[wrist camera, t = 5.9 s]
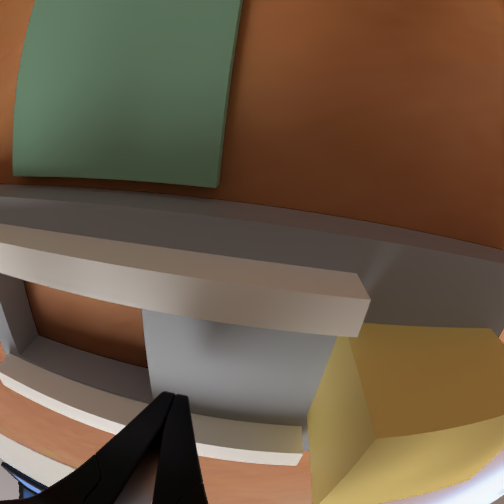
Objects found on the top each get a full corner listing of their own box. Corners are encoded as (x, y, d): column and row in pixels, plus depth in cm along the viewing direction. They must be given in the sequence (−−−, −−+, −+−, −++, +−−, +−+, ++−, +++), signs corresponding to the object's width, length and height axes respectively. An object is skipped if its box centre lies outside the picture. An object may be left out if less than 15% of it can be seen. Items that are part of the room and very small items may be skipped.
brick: (306, 415, 11) (312, 509, 7) (342, 320, 9) (376, 438, 5) (440, 409, 11) (468, 480, 7) (490, 328, 9) (544, 400, 5)
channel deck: (32, 359, 14) (5, 394, 11) (-8, 184, 10) (-59, 204, 7) (416, 417, 14) (432, 461, 11) (503, 250, 10) (551, 286, 7)
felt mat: (21, 173, 10) (12, 176, 9) (48, -14, 6) (41, -17, 6) (219, 184, 10) (216, 188, 9) (252, -48, 6) (251, -56, 6)
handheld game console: (52, 488, 31) (37, 523, 22) (83, 512, 36) (71, 542, 27) (0, 458, 32) (-16, 487, 23) (31, 487, 37) (19, 513, 28)
